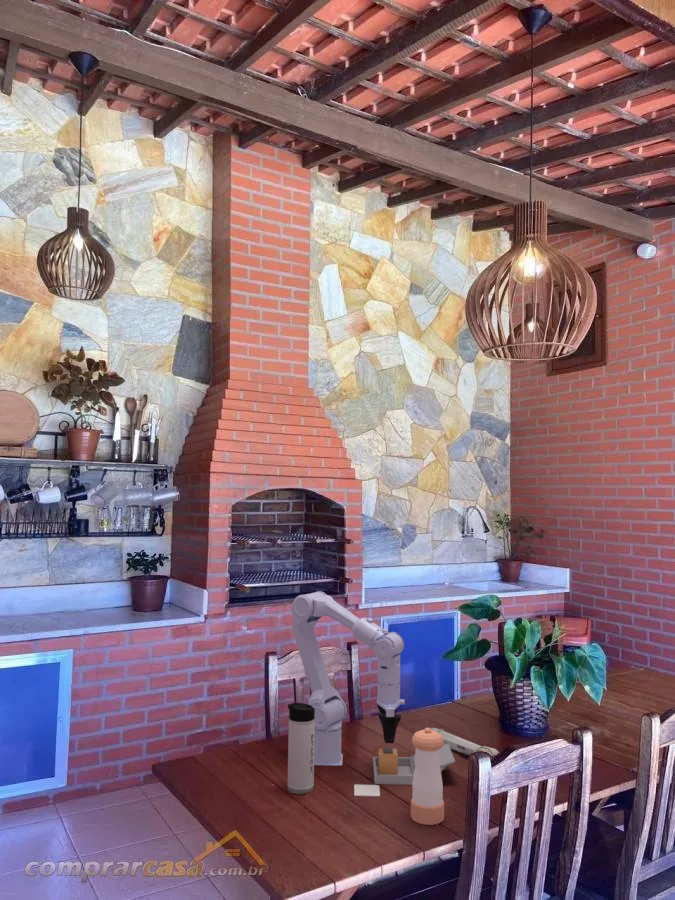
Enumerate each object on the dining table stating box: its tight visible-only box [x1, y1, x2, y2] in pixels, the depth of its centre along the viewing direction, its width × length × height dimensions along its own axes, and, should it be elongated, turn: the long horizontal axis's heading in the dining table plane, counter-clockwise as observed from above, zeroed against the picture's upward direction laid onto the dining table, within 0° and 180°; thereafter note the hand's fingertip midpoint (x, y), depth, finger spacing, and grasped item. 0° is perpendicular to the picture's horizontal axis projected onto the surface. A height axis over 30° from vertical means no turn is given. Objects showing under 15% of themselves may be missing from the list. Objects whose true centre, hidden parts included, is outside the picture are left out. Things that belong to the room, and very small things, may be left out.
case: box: [372, 744, 456, 786], centre depth 175 cm, size 20×13×6 cm, turn 89°
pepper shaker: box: [410, 727, 445, 826], centre depth 154 cm, size 7×7×19 cm
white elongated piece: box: [429, 727, 500, 756], centre depth 190 cm, size 5×7×25 cm
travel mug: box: [287, 702, 315, 795], centre depth 168 cm, size 6×7×20 cm
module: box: [378, 747, 399, 775], centre depth 176 cm, size 4×4×6 cm
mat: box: [353, 784, 381, 797], centre depth 166 cm, size 6×6×1 cm
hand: (388, 737), depth 176 cm, fingers open, 7 cm apart
